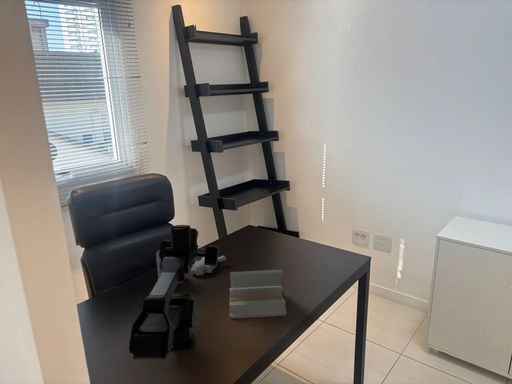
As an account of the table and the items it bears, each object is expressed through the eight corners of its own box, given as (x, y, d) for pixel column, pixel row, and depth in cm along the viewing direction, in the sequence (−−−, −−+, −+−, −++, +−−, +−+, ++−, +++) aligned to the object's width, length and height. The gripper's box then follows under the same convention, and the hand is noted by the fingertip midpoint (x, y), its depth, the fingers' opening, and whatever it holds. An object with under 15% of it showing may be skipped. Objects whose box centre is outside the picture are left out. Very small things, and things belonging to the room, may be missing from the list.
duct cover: (282, 272, 122) (281, 269, 123) (230, 275, 121) (229, 272, 122) (279, 285, 130) (279, 283, 130) (231, 288, 129) (231, 285, 130)
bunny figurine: (184, 264, 148) (211, 247, 158) (187, 275, 149) (212, 257, 160) (201, 270, 142) (227, 252, 153) (203, 282, 144) (229, 263, 155)
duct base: (286, 315, 119) (286, 305, 118) (230, 318, 118) (229, 309, 117) (280, 289, 135) (279, 280, 134) (230, 292, 134) (229, 283, 133)
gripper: (217, 235, 111) (223, 227, 127) (155, 228, 112) (169, 220, 127) (213, 272, 112) (220, 259, 128) (152, 264, 113) (166, 252, 128)
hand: (194, 247), depth 128 cm, fingers open, 9 cm apart
